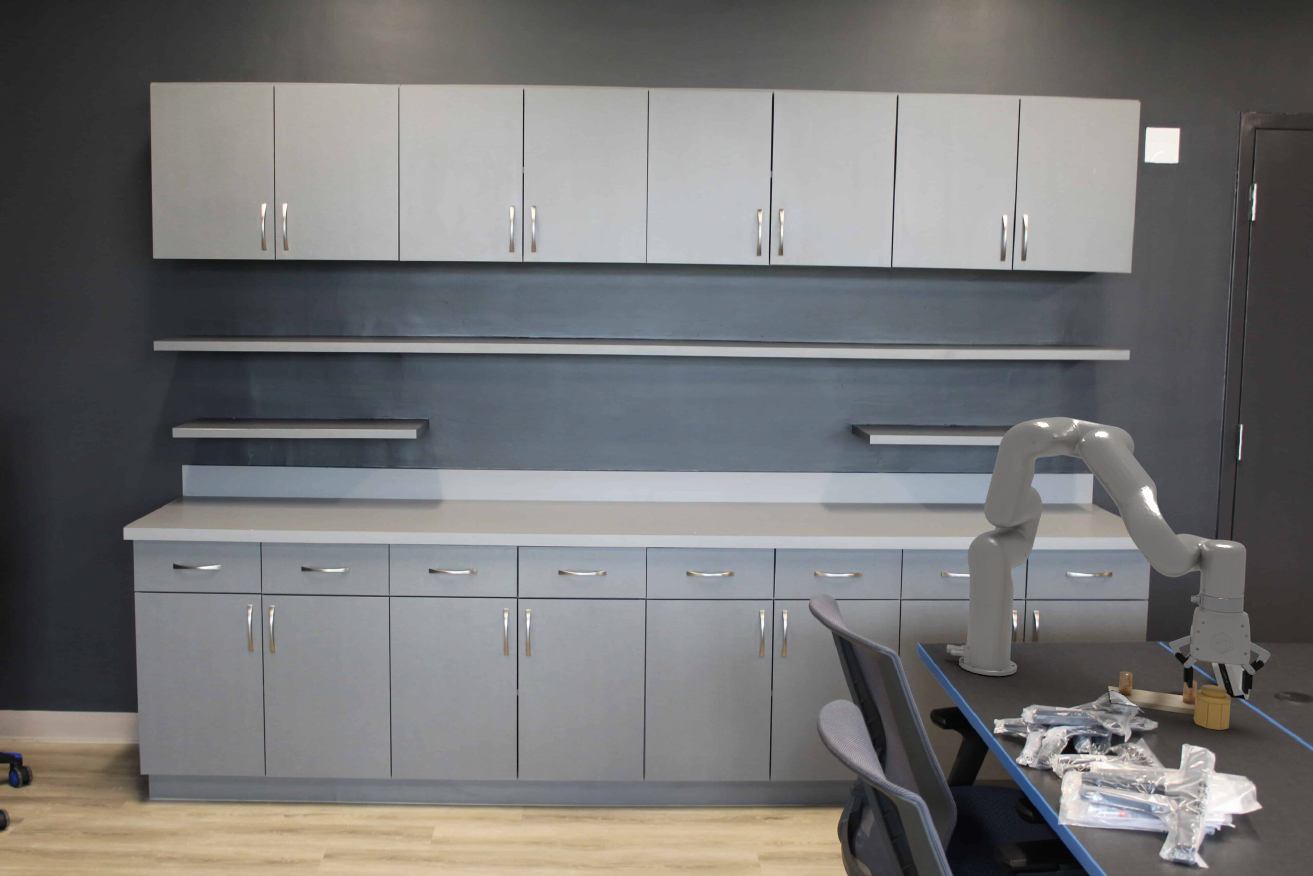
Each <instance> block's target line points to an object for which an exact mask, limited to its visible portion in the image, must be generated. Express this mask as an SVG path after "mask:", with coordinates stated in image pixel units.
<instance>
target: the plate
mask: <svg viewBox="0 0 1313 876" xmlns="http://www.w3.org/2000/svg"><path fill="white" fill-rule="evenodd" d="M1107 690H1108V691H1111V690H1114V691H1117V692H1119V686H1111V685H1108V687H1107ZM1108 691H1107V692H1108ZM1125 697H1126V698H1127V699H1128V700H1130V701H1131V702H1132V703H1135V704H1137V705H1138V706H1140V707H1139V708H1143V709H1149V710H1157V711H1163V712H1170V713H1171V712H1173V713H1178V714H1179V713H1180V714H1183V715H1184V714H1186V715H1191V716H1194V711H1195V704H1194V705H1191V704H1186V703H1184V702H1183V695H1180V694H1179V695H1178V694H1172V693H1164V692H1157V691H1149V690H1141V689H1133V688H1132V693H1131V696H1125Z"/></svg>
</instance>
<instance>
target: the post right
mask: <svg viewBox="0 0 1313 876" xmlns="http://www.w3.org/2000/svg"><path fill="white" fill-rule="evenodd" d="M1197 690H1198V681H1196V680H1195V679H1193V688H1188V686H1187V682H1184V681H1183V691H1182V696H1183V702H1184V703H1186V704H1191V705H1194V704H1195V697H1196V691H1197Z"/></svg>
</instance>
